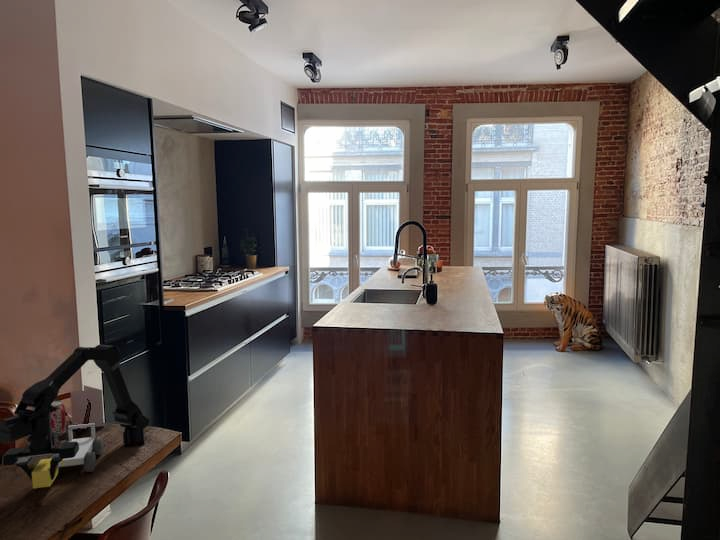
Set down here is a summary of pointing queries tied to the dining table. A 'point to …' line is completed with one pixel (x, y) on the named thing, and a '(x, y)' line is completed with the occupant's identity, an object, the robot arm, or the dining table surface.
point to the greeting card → (81, 403)
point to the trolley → (83, 449)
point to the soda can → (58, 418)
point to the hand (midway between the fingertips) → (43, 480)
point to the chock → (42, 474)
